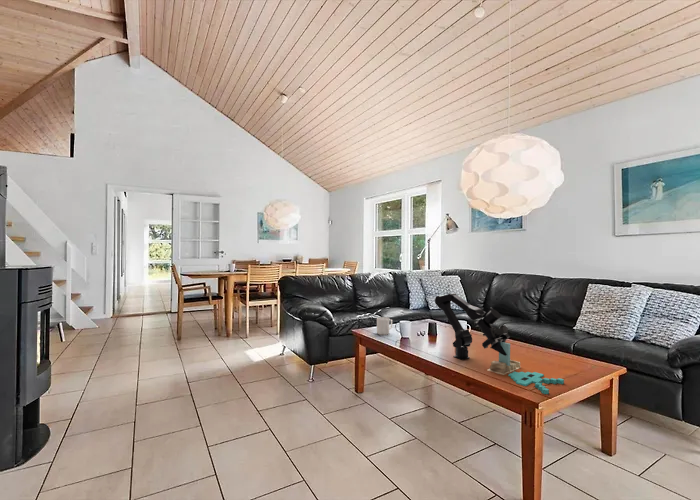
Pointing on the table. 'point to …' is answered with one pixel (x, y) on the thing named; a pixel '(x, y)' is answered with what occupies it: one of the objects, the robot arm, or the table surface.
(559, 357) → the table surface
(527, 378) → the alien figure
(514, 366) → the birch rack
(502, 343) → the teal panel
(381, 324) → the mug
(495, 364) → the upper oak offcut
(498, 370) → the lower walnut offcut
